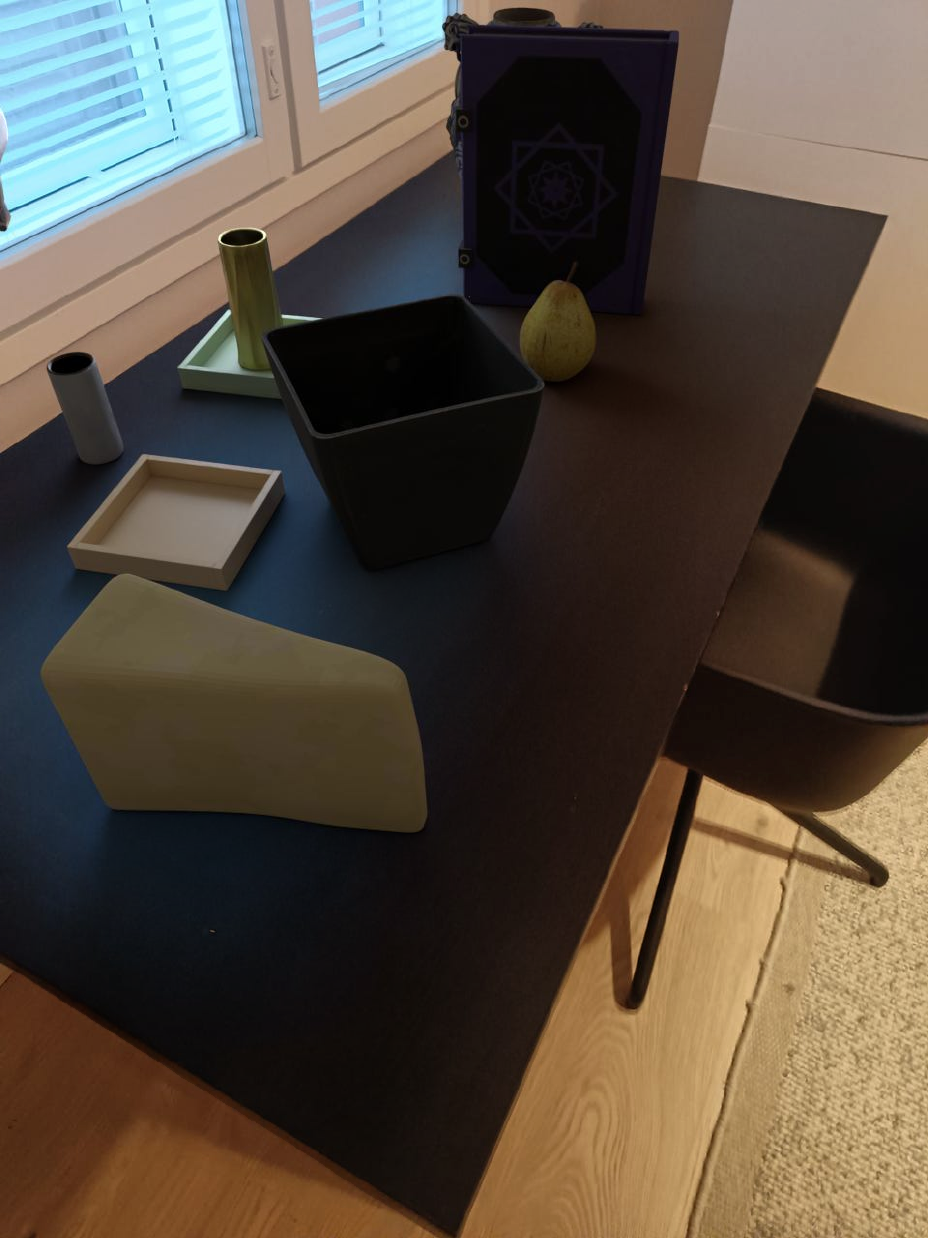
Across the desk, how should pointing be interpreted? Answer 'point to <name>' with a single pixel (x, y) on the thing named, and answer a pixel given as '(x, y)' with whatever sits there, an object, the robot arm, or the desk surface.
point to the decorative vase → (453, 43)
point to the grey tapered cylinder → (85, 407)
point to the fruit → (558, 332)
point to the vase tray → (227, 363)
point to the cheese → (234, 714)
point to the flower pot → (408, 422)
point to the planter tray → (179, 522)
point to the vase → (250, 292)
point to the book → (562, 160)
